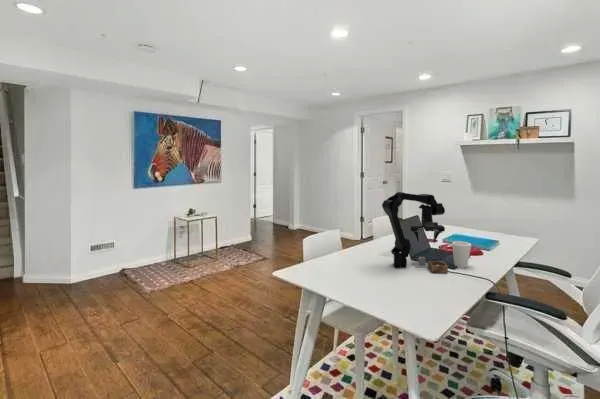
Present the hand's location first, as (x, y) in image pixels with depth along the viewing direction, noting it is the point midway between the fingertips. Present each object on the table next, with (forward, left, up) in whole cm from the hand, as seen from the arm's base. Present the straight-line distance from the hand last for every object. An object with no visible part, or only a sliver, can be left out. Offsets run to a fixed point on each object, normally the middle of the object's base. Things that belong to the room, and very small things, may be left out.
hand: (425, 242), depth 194 cm
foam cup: (+18, -5, -12) cm, 22 cm away
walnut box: (+3, -14, -12) cm, 19 cm away
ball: (+3, -14, -10) cm, 18 cm away
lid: (-3, -5, -12) cm, 14 cm away
